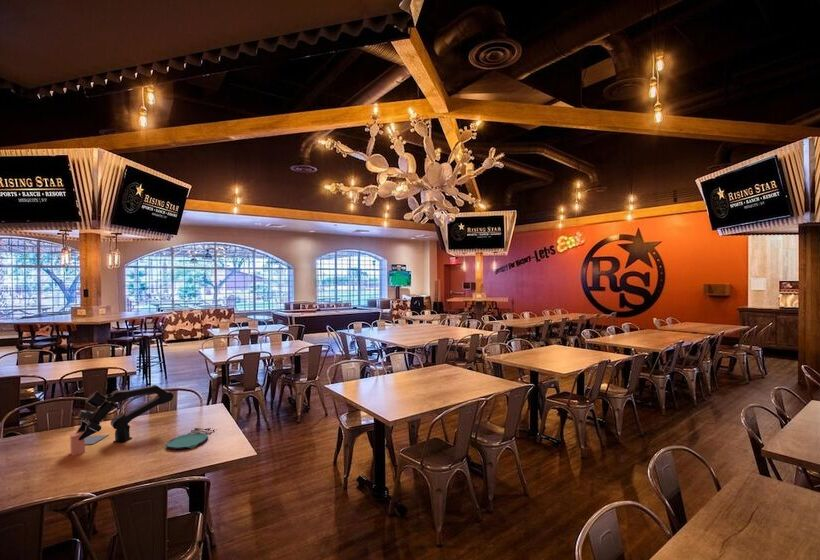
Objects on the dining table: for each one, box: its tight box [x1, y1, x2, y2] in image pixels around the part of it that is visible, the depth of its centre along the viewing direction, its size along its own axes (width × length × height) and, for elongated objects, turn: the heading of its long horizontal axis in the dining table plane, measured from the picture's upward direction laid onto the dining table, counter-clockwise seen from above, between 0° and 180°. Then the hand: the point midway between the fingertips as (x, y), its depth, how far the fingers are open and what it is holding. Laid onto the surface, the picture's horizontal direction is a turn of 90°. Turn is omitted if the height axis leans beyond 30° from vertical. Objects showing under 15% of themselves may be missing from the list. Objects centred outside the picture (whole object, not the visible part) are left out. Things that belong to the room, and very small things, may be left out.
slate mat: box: [84, 434, 109, 446], centre depth 224 cm, size 12×12×1 cm
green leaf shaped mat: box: [165, 427, 211, 450], centre depth 223 cm, size 20×30×2 cm, turn 177°
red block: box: [69, 432, 86, 457], centre depth 209 cm, size 5×5×10 cm
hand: (77, 437), depth 209 cm, fingers open, 9 cm apart
